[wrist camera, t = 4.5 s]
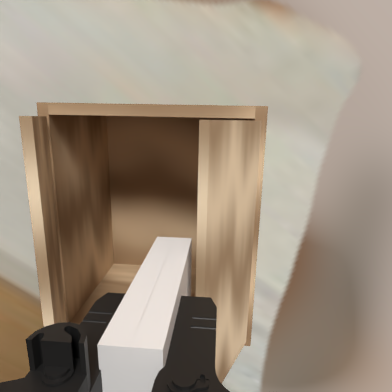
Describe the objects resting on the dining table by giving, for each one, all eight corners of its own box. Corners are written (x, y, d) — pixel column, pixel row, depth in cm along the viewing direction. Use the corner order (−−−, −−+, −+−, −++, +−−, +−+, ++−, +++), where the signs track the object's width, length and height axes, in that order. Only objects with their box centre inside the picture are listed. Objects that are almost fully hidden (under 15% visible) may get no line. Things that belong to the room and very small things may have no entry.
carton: (241, 273, 27) (250, 345, 19) (110, 266, 28) (60, 331, 20) (251, 111, 24) (267, 106, 15) (101, 108, 25) (36, 102, 16)
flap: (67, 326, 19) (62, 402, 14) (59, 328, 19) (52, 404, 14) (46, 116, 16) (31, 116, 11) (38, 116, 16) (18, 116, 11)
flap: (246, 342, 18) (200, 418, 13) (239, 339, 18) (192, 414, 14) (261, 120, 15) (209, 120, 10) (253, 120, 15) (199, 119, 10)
